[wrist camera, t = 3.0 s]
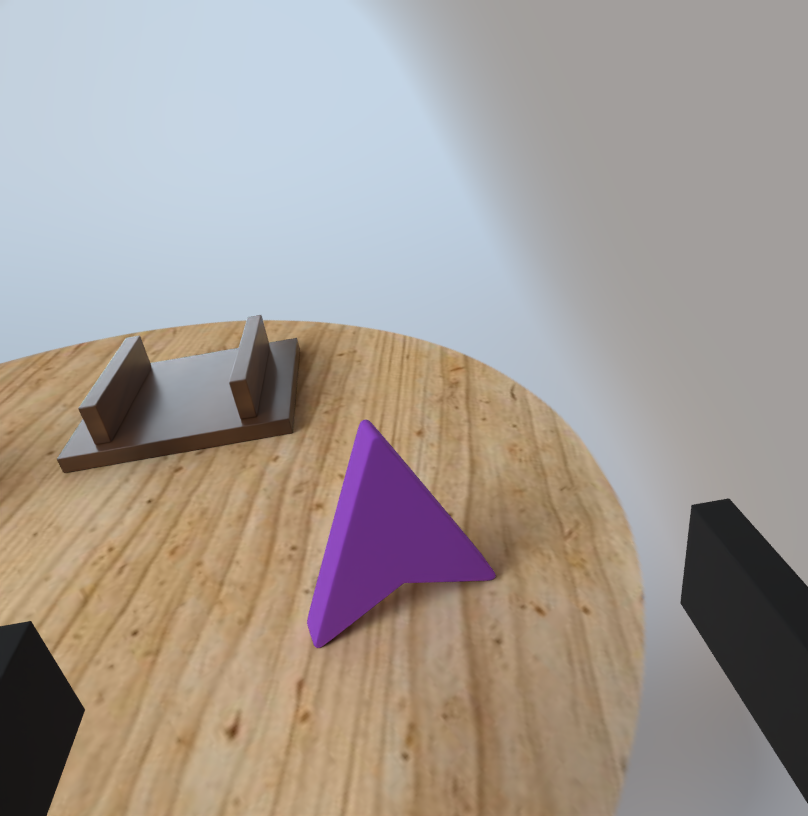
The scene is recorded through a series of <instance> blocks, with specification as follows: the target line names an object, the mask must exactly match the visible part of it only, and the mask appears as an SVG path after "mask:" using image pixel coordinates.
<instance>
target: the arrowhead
mask: <svg viewBox="0 0 808 816" xmlns="http://www.w3.org/2000/svg"><path fill="white" fill-rule="evenodd" d="M495 576H496V574H495V572H494V571H493V569H492V568H491V567H490V565H489V564H488V562H487V561H486V560H485V558H484V557H483V556H482V554H481V553H480V552H479V550H478V549H477V548H476V547H475V545H474V544H473V543H472V542H471V541H470V539H469V538H468V537H467V536H466V535H465V533H464V532H463V531H462V530H461V529H460V527H459V526H458V525H457V524H456V523H455V521H454V520H453V519H452V518H451V517H450V515H449V514H448V513H447V512H446V511H445V509H444V508H443V507H442V506H441V505H440V503H439V502H438V501H437V500H436V499H435V497H434V496H433V495H432V494H431V493H430V491H429V490H428V489H427V488H426V487H425V485H424V484H423V483H422V482H421V481H420V479H419V478H418V477H417V476H416V475H415V474H414V472H413V471H412V470H411V469H410V468H409V466H408V465H407V464H406V463H405V462H404V460H403V459H402V458H401V457H400V456H399V455H398V453H397V452H396V451H395V450H394V449H393V447H392V446H391V445H390V444H389V443H388V441H387V440H386V439H385V438H384V437H383V436H382V434H381V433H380V432H379V431H378V430H377V429H376V428H375V426H374V425H373V424H372V423H371V422H370V421H369V420H363V421H362V422H361V423H360V425H359V428H358V431H357V435H356V438H355V442H354V445H353V449H352V453H351V456H350V460H349V464H348V467H347V471H346V475H345V479H344V482H343V486H342V490H341V494H340V497H339V501H338V505H337V509H336V512H335V516H334V520H333V524H332V527H331V531H330V535H329V539H328V542H327V546H326V550H325V554H324V557H323V561H322V565H321V569H320V573H319V576H318V580H317V584H316V588H315V592H314V595H313V599H312V603H311V607H310V611H309V615H308V620H307V624H308V628H309V631H310V634H311V637H312V641H313V644H314V646H315V647H316V648H320V647H322V646H324V645H325V644H326V643H328V642H329V641H330V640H332V639H333V638H334V637H336V636H337V635H338V634H339V633H341V632H342V631H343V630H345V629H346V628H347V627H348V626H350V625H351V624H352V623H354V622H355V621H356V620H357V619H359V618H360V617H361V616H362V615H364V614H365V613H366V612H368V611H369V610H370V609H371V608H373V607H374V606H375V605H376V604H378V603H379V602H380V601H382V600H383V599H384V598H385V597H387V596H388V595H389V594H390V593H392V592H393V591H394V590H396V589H397V588H398V587H399V586H401V585H402V584H403V583H423V582H456V581H484V580H492V579H494V578H495Z"/></svg>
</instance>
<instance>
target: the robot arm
mask: <svg viewBox="0 0 808 816" xmlns="http://www.w3.org/2000/svg"><path fill="white" fill-rule="evenodd" d="M681 605H682V606H683V608H684V609H685V611H686V613H687V614H688V616H689V617H690V619H691V620H692V622H693V623H694V625H695V626H696V628H697V630H698V631H699V633H700V635H701V636H702V638H703V639H704V641H705V642H706V644H707V645H708V647H709V649H710V650H711V652H712V654H713V655H714V657H715V658H716V660H717V661H718V663H719V665H720V666H721V668H722V669H723V671H724V672H725V674H726V675H727V677H728V679H729V680H730V682H731V683H732V685H733V687H734V688H735V690H736V691H737V693H738V694H739V696H740V698H741V699H742V701H743V702H744V704H745V705H746V707H747V709H748V710H749V712H750V713H751V715H752V716H753V718H754V720H755V721H756V723H757V724H758V726H759V727H760V729H761V731H762V732H763V734H764V735H765V737H766V739H767V740H768V741H769V743H770V745H771V746H772V748H773V749H774V751H775V753H776V754H777V756H778V757H779V759H780V760H781V762H782V764H783V765H784V767H785V768H786V770H787V771H788V773H789V775H790V776H791V778H792V779H793V781H794V782H795V784H796V786H797V787H798V789H799V790H800V792H801V793H802V795H803V797H804V798H805V800H806V801H807V803H808V587H807V585H806V584H805V583H804V582H803V581H802V580H801V579H800V577H798V575H797V574H796V573H795V572H794V571H793V570H792V569H791V567H790V566H789V565H788V564H787V563H786V562H785V561H784V560H783V558H782V557H781V556H780V555H779V554H778V553H777V552H776V551H775V550H774V548H773V547H772V546H771V545H770V544H769V543H768V542H767V540H766V539H765V538H764V537H763V536H762V535H761V534H760V533H759V531H758V530H757V529H756V528H755V527H754V526H753V525H752V524H751V523H750V521H749V520H748V519H747V518H746V517H745V516H744V515H743V514H742V512H741V511H740V510H739V509H738V508H737V507H736V506H735V505H734V503H733V502H732V501H731V500H730V499H724V500H717V501H712V502H706V503H700V504H695V505H692V506H691V515H690V523H689V532H688V541H687V550H686V559H685V567H684V577H683V585H682V594H681ZM84 712H85V709H84V707H83V706H82V704H81V702H80V701H79V699H78V697H77V696H76V694H75V692H74V691H73V689H72V687H71V686H70V684H69V683H68V681H67V679H66V678H65V676H64V674H63V673H62V671H61V669H60V668H59V666H58V665H57V663H56V661H55V660H54V658H53V656H52V655H51V653H50V651H49V650H48V648H47V646H46V645H45V643H44V642H43V640H42V638H41V637H40V635H39V633H38V632H37V630H36V628H35V627H34V625H33V624H32V622H31V621H28V622H23V623H17V624H11V625H6V626H0V816H47V813H48V810H49V808H50V805H51V802H52V799H53V797H54V794H55V791H56V788H57V786H58V783H59V780H60V777H61V775H62V772H63V769H64V766H65V764H66V761H67V758H68V755H69V753H70V750H71V747H72V744H73V742H74V739H75V736H76V734H77V731H78V728H79V725H80V723H81V720H82V717H83V714H84Z"/></svg>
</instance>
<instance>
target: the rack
mask: <svg viewBox="0 0 808 816" xmlns="http://www.w3.org/2000/svg"><path fill="white" fill-rule="evenodd" d="M299 354H300V348H299V344H298V340H297V338H293V339H288V340H282V341H276V342H270V343H269V341H268V338H267V334H266V330H265V327H264V323H263V319H262V316H261V315H258V316H251V317H248V318H247V321H246V324H245V328H244V331H243V335H242V338H241V342H240V345H239V348H235V349H230V350H224V351H218V352H212V353H206V354H201V355H195V356H189V357H183V358H177V359H172V360H166V361H160V362H154V363H150V361H149V358H148V356H147V353H146V351H145V348H144V345H143V343H142V340H141V337H140V336H135V337H129V338H126V339H125V340H124V342H123V343H122V345H121V346H120V348H119V349H118V351H117V352H116V354H115V355H114V357H113V358H112V360H111V361H110V363H109V364H108V365H107V367H106V368H105V370H104V371H103V373H102V374H101V376H100V377H99V379H98V380H97V382H96V383H95V385H94V386H93V388H92V389H91V390H90V392H89V393H88V395H87V396H86V398H85V399H84V401H83V402H82V404H81V405H80V407H79V411H80V413H81V416H82V418H83V419H82V421H81V423H80V424H79V426H78V427H77V429H76V430H75V432H74V433H73V435H72V436H71V438H70V439H69V441H68V443H67V444H66V446H65V447H64V449H63V450H62V452H61V453H60V455H59V456H58V458H57V461H58V463H59V465H60V467H61V469H62V471H63V473H66V472H72V471H78V470H83V469H89V468H95V467H101V466H106V465H112V464H118V463H123V462H129V461H135V460H140V459H146V458H152V457H158V456H163V455H169V454H175V453H180V452H186V451H192V450H197V449H203V448H209V447H215V446H220V445H226V444H232V443H237V442H243V441H249V440H255V439H260V438H266V437H272V436H277V435H283V434H289V433H293V424H294V412H295V401H296V389H297V378H298V366H299Z"/></svg>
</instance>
